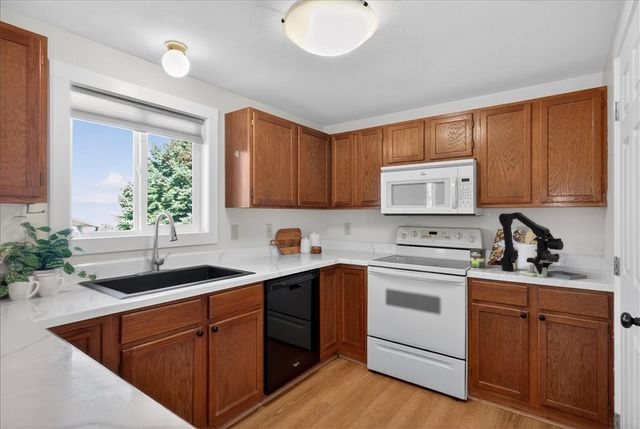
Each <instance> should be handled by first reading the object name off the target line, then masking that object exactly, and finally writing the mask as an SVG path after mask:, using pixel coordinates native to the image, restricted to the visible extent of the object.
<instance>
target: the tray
mask: <svg viewBox="0 0 640 429" xmlns="http://www.w3.org/2000/svg"><path fill="white" fill-rule="evenodd" d="M547 276H548V277H551V278H558V279H562V280H568V281H573V280H587V279H588V275H587V274H582V273H577V272H570V271H565V270H560V269H555V270H547Z"/></svg>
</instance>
